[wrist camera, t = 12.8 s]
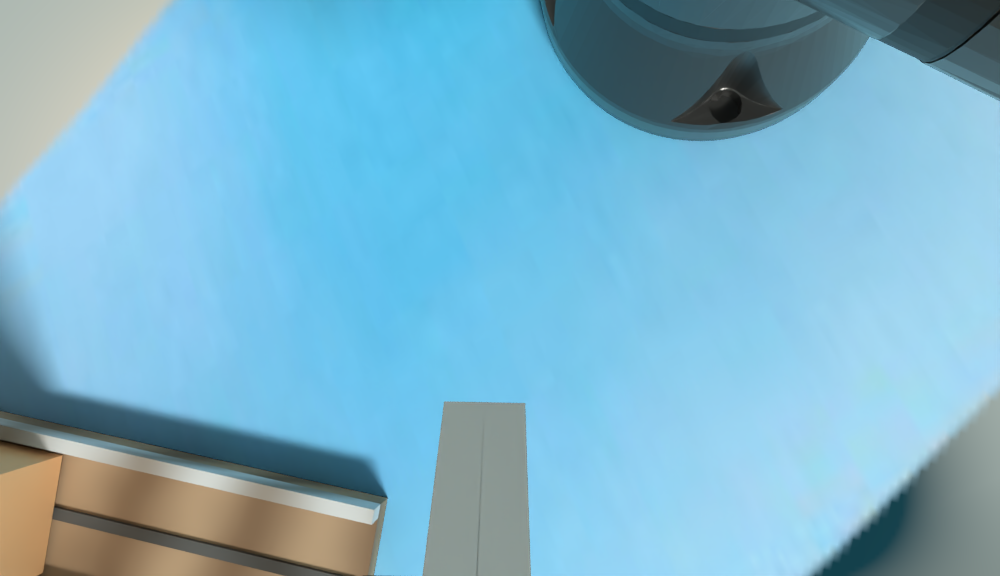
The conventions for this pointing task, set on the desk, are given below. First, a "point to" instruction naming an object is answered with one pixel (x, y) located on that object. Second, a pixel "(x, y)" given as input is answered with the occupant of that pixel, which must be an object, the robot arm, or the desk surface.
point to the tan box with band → (26, 507)
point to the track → (192, 512)
